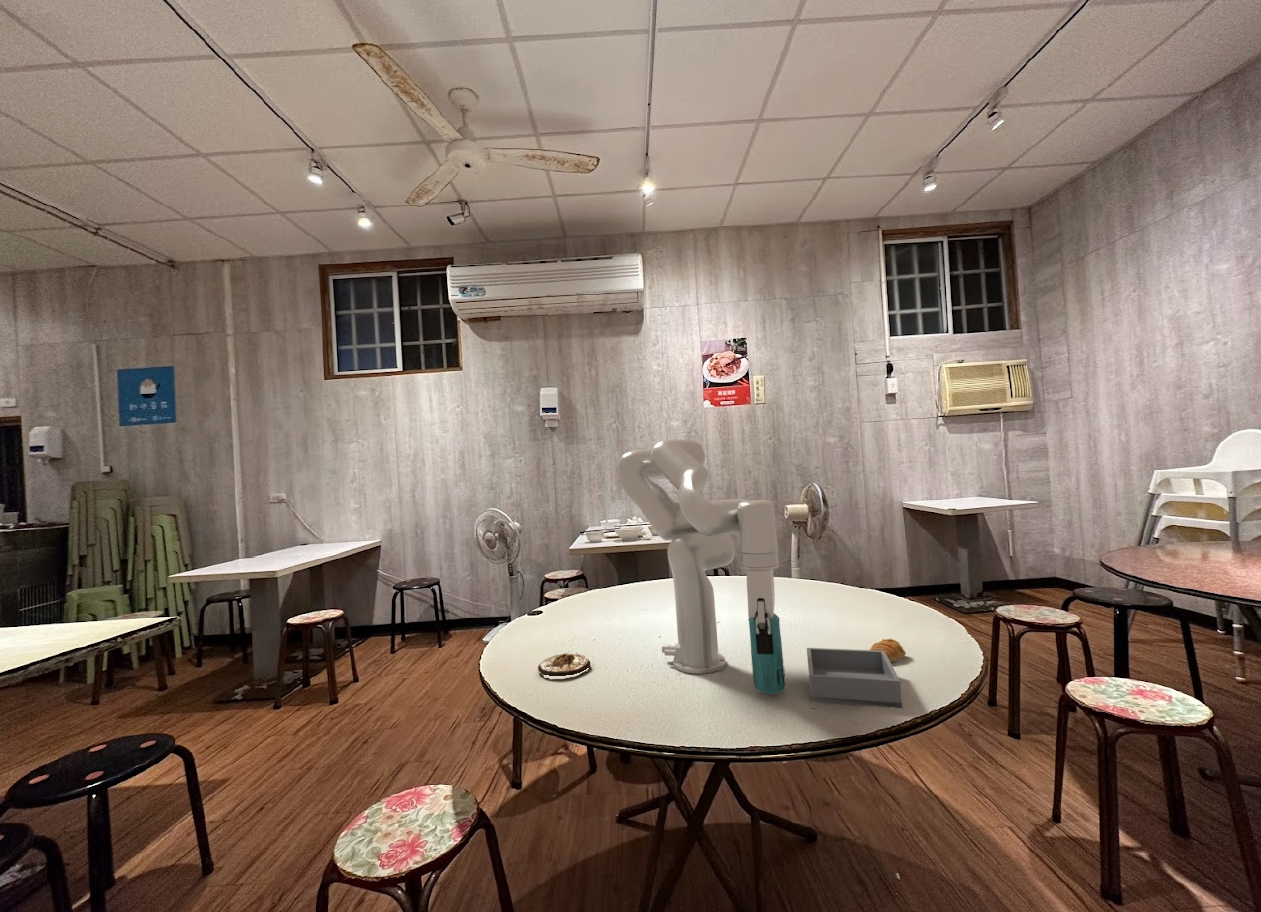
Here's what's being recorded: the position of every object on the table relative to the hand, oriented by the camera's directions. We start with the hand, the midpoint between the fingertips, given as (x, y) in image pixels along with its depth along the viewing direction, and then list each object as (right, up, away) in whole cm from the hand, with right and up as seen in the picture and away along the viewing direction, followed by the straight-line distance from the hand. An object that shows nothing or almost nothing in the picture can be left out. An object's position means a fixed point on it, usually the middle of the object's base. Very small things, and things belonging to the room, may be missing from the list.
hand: (766, 646), depth 102 cm
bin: (+18, -9, +1) cm, 20 cm away
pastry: (+32, -9, +15) cm, 37 cm away
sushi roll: (-44, -14, +20) cm, 50 cm away
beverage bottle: (+1, -10, 0) cm, 10 cm away
